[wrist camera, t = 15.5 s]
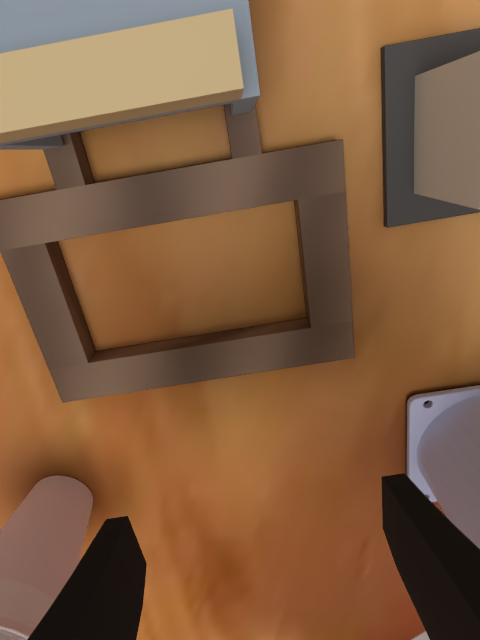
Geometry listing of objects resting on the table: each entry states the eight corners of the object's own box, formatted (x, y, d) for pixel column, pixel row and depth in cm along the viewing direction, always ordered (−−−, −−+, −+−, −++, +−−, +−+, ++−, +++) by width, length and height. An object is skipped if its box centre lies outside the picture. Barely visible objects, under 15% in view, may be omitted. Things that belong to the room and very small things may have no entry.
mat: (563, 14, 15) (570, 11, 15) (538, 200, 18) (544, 201, 18) (381, 48, 16) (384, 45, 15) (384, 226, 18) (387, 227, 18)
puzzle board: (316, -172, 13) (324, -201, 12) (348, 346, 21) (354, 357, 20) (-115, -81, 14) (-145, -101, 13) (71, 389, 21) (62, 402, 20)
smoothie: (18, 445, 23) (-254, 826, 10) (126, 474, 24) (8, 851, 11) (2, 521, 25) (-234, 908, 12) (102, 544, 26) (-20, 923, 13)
